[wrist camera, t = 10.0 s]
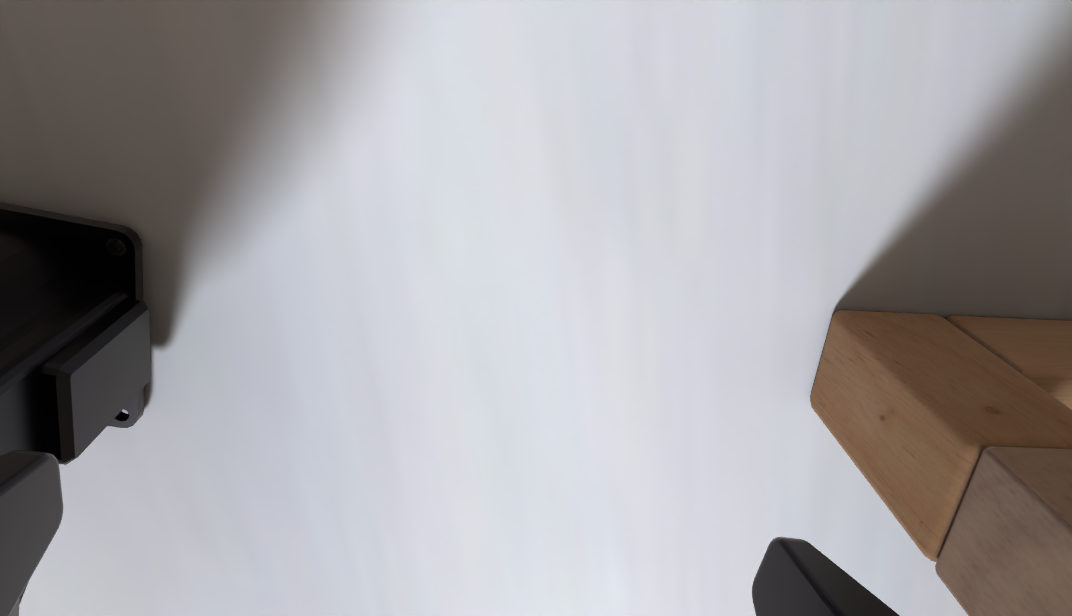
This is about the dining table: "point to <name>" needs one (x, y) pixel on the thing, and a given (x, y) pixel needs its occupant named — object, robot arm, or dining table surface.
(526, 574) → the dining table surface
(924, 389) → the wooden block
